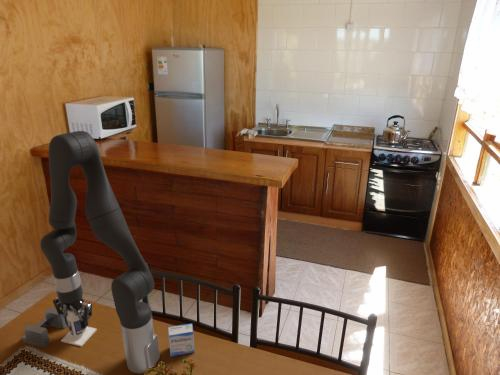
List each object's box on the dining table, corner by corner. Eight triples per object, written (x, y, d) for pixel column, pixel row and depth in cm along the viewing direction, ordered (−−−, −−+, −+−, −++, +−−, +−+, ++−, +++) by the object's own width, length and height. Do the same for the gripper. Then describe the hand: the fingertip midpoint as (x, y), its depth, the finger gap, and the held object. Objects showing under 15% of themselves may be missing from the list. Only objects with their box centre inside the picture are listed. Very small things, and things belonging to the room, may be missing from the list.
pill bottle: (89, 325, 131) (84, 303, 128) (83, 336, 126) (78, 313, 123) (73, 326, 131) (68, 303, 128) (67, 337, 126) (62, 314, 123)
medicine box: (170, 357, 121) (168, 336, 118) (169, 347, 125) (167, 326, 122) (195, 352, 122) (193, 331, 119) (193, 342, 127) (192, 322, 123)
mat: (96, 329, 132) (96, 328, 132) (81, 346, 125) (81, 345, 125) (77, 325, 134) (77, 324, 134) (61, 341, 127) (61, 340, 127)
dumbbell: (73, 320, 137) (70, 306, 135) (44, 347, 125) (40, 333, 122) (52, 315, 139) (49, 302, 137) (22, 342, 127) (18, 328, 125)
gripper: (94, 281, 123) (102, 322, 129) (58, 274, 127) (67, 314, 133) (79, 295, 116) (88, 337, 123) (41, 287, 120) (51, 329, 126)
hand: (77, 325), depth 128 cm, fingers closed on pill bottle, 5 cm apart
